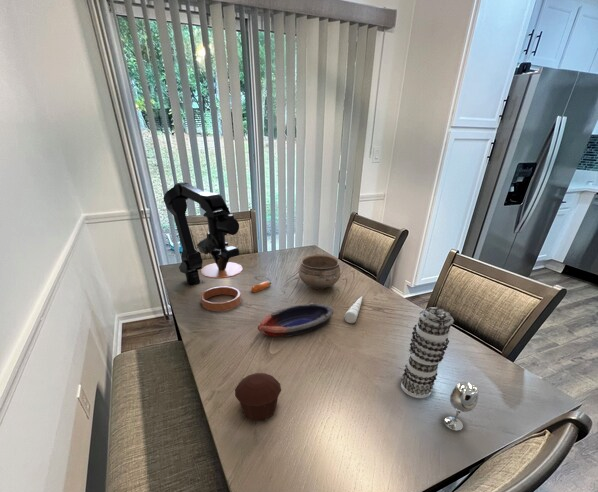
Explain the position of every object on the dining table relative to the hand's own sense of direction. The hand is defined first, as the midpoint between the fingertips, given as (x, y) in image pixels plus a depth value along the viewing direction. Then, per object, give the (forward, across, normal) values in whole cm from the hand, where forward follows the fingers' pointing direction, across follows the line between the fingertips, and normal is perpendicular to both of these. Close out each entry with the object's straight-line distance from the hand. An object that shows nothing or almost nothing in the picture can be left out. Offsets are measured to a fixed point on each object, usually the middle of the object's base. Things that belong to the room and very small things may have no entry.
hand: (221, 268), depth 132 cm
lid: (+1, 0, 0) cm, 1 cm away
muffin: (+14, +58, -34) cm, 69 cm away
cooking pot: (+14, +22, +37) cm, 45 cm away
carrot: (+13, +5, +16) cm, 21 cm away
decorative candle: (+14, +86, +2) cm, 87 cm away
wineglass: (+14, +99, -5) cm, 100 cm away
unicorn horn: (+14, +48, +28) cm, 57 cm away
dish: (+14, +38, +3) cm, 40 cm away
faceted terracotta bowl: (+13, +3, -4) cm, 14 cm away
